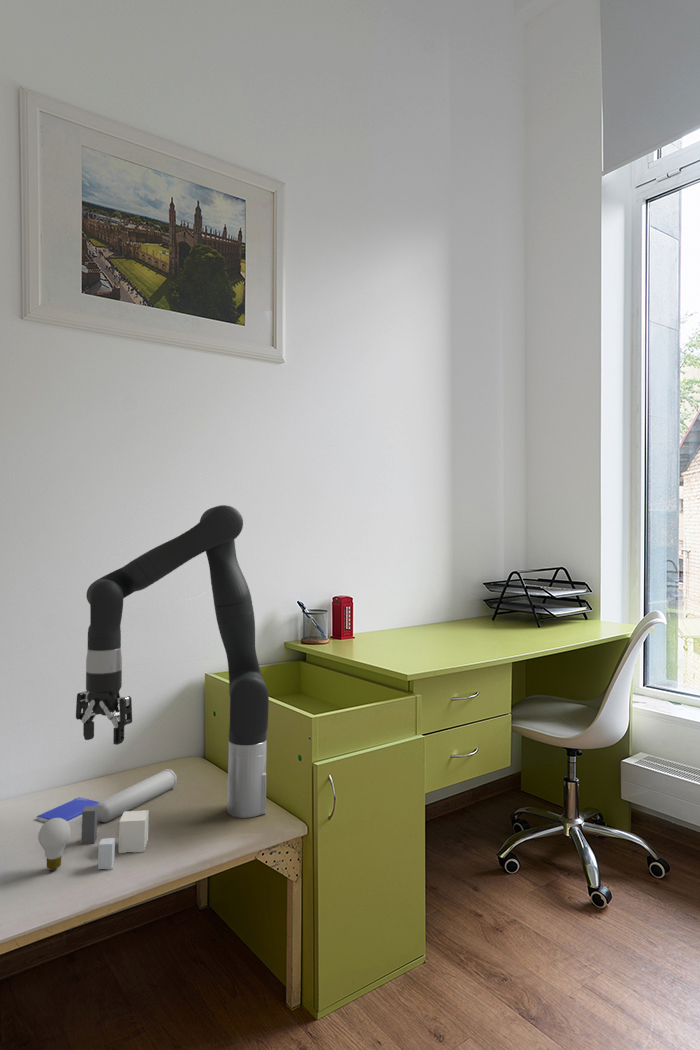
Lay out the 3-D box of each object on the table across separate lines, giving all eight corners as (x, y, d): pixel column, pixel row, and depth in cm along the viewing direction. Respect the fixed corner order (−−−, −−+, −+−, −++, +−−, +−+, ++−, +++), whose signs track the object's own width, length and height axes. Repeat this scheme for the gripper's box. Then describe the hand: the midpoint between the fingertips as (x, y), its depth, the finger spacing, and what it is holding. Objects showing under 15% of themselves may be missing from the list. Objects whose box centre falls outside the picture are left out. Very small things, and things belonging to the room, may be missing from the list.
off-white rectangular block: (147, 840, 142) (148, 810, 143) (144, 851, 137) (144, 820, 137) (123, 842, 142) (123, 811, 142) (118, 853, 136) (119, 821, 137)
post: (96, 838, 143) (97, 806, 143) (94, 843, 141) (94, 810, 141) (84, 838, 143) (85, 806, 143) (81, 844, 140) (82, 811, 140)
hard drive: (78, 796, 164) (36, 815, 152) (102, 802, 160) (61, 821, 149) (78, 803, 164) (36, 822, 152) (102, 808, 160) (61, 828, 149)
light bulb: (75, 869, 130) (76, 818, 130) (45, 880, 125) (46, 828, 125) (61, 859, 133) (63, 810, 134) (32, 870, 129) (33, 819, 129)
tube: (108, 810, 149) (179, 774, 172) (92, 799, 151) (164, 765, 174) (102, 831, 150) (173, 792, 173) (86, 819, 152) (159, 783, 175)
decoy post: (114, 862, 132) (114, 838, 133) (111, 869, 130) (112, 843, 130) (100, 863, 132) (101, 838, 132) (98, 870, 129) (98, 844, 130)
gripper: (140, 668, 146) (140, 740, 146) (92, 663, 152) (92, 733, 151) (116, 674, 139) (115, 750, 139) (67, 669, 145) (66, 742, 144)
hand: (103, 741), depth 145 cm, fingers open, 8 cm apart
